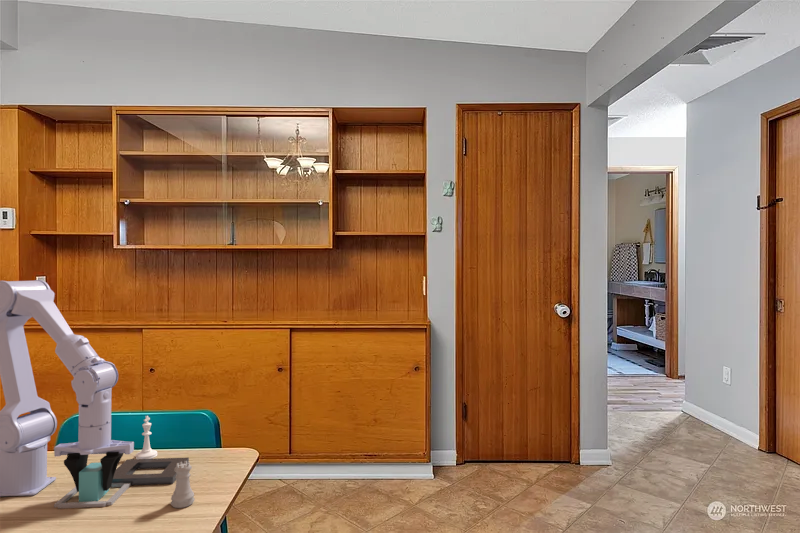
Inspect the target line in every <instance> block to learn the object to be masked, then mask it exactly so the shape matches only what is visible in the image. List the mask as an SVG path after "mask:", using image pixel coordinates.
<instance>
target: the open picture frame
mask: <svg viewBox="0 0 800 533" xmlns="http://www.w3.org/2000/svg"><path fill="white" fill-rule="evenodd" d="M130 486H132V485H131V483H112V485H111V487H110V488H119V489H118V490H117V491H116V492H115V493H114V494H113V495H112V496H111V497H110V498H109V499H108V500H105V501H104V500H102V501H101V500H100V501H93V502H79V501H78V502H77V501H74V502H68V501H69V500H70V499H71V498H72V497H73V496H74V495H76V494H78V492H77V490H76V486H74V488H72V489H71V490H70V491H69V492H67V493H66V494H65V495H64V496H62V497H61V498H60V499H59V500H57V501H56V502H55V503H54V504H53V508H57V509H73V508H74V509H77V508H101V507H107V506H112V505H113V504H114V503H115V502H116V501H117V500H118V499H119V498H120V497H121V496H122V495H123V494H124V493H125V492H126V491H127V490H128V489H129V488H130Z"/></svg>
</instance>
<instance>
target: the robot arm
mask: <svg viewBox="0 0 800 533" xmlns="http://www.w3.org/2000/svg"><path fill="white" fill-rule="evenodd" d="M55 295H56V293H55V292H54V290H52V289H51V287H50V285H49V284H48V282H46V280H43V279H35V280H10V281H9V280H8V281H7V280H0V382H1V385H2V392H3V396H4V400H5V401H4V402H5V405H4V406H3V408H2V409H1V410H0V497H17V496H18V497H20V496H35V495H36V494H38V493H39V492H40V491H42V490H43V489H44V488H47V486H49V485H50V484H51V483H53V482H54V481H56V480H57V477H56V476H48V443H49V442H51V436H53V434H55V432H56V430H57V426H58V420H57V417H56V415H55V413H54V412H53V410H52V408H51V404H50V402H49V401H48V400H45V399H44V398H41V397H40V396H38V392H37V387H36V382H35V377H34V372H33V367H32V363H31V357H30V353H29V348H28V343H27V337H26V335H25V328H24V326H25V324H26V323H28V320H30V319H31V318H33V319H34V321H36V322H37V323H38V325H40V326H41V328H42V329H43V330H44V331H45V332H46V333H47V334H48V335H49V337H50V338H51V339H52V340H53V341H54V342H55V344H56V347H55V350H54V352H55V354H56V355H57V356H58V358H59V359H60V361H61V362H62V363H63V366H65V367H66V369H67V370H68V372H69V373H70V374H71V376H72V377H73V379H72V380H70V381H71V387H72V390H73V392H74V393H75V396H76V400H75V401H76V402H77V404H78V434H77V435H78V436H77V437H78V441H76V442H68V443H59V444H57V445H55V446H54V448H53V450H54V453H53V456H54V457H61V456H66V458H65V459H64V460H63V465H64V466H65V467H66V469H67V470H68V471H69V473H70V475H71V477H72V479H73V480H72V481H73V482H74V485H75V486H74V487H76V490H77V493H79V472H80V471H81V470H83V469H84V468H85V467H86V466H88V458H89V455H104V454H105V455H104V456H102V457H101V458H100V462H101V465H102V471H103V491H107V490H108V489H109V490H110V488H112V487H111V485H112V480H113V477H114V473H115V471H116V469H117V468H118V467H119V466H118V465H119V463H120V462H121V460H122V457H123V456H124V455H131V454H132V453H133V452H134V450H135V448H134V447H135V442H134V441H124V440H115V439H112V391H113V390H112V389H113V388H114V387H115V386H116V384H117V383H118V381H119V372H118V368H117V367H116V365H115V364H114V363H113V362H111V361H108V360H107V361H106V360H105V359H104V358H102V357H100V356H99V354H98V353H97V352H96V350H95V349H94V348H93V347H92V346H91V344H90V341H89V339H88V338H87V337H85V336H84V335H80V334H75V333H74V332H73V330H72V329H71V328H70V325H69V324H68V323H67V321H66V319H65V318H64V316H63V314H62V313H61V311H60V309H59V308H58V307H57V305H56V303H55V302H54V300H55V297H56V296H55ZM26 413H27V414H26ZM20 415H21V416H20ZM100 462H99V463H100Z"/></svg>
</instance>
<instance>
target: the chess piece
mask: <svg viewBox="0 0 800 533" xmlns="http://www.w3.org/2000/svg"><path fill="white" fill-rule="evenodd" d="M150 420H151V417H149V415H145V419H143V422H144V423H143V424H142V428H143V431H144V432H142V433H141V435H142V436H144V437H143V438H144V439H143V441H144V442H143V445H142V446H143V447H142V449H141V450H140V451H138V452H136V454H135V457H136V458H135V459H155V458H156V457H157V456H158V451H157V450H155V449H152V448H151V444H150V443H151V442H150V435H152V432H151V431H150V430H151V426H152V422H149V421H150Z"/></svg>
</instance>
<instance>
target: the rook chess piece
mask: <svg viewBox="0 0 800 533" xmlns="http://www.w3.org/2000/svg"><path fill="white" fill-rule="evenodd" d="M192 468H193V467H192V465H191V463H190V461H189V462H188V464H187V461H184V464H182V462H179V463H177V464H176V467H175V469H174V471H175V472H176V473H177V475H176V476H175V478H176V480H175V482H176V483H175V489H174V491H173V494H172V495H171V497H170V500H171V501H170V505H171V507H172V508H175V509H184V508H187V507H190V506H191V505H193V503H194V502H195V493H194V491H193V489H192V488H191V483H190V477H191V473H190V471H191V470H192Z"/></svg>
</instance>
